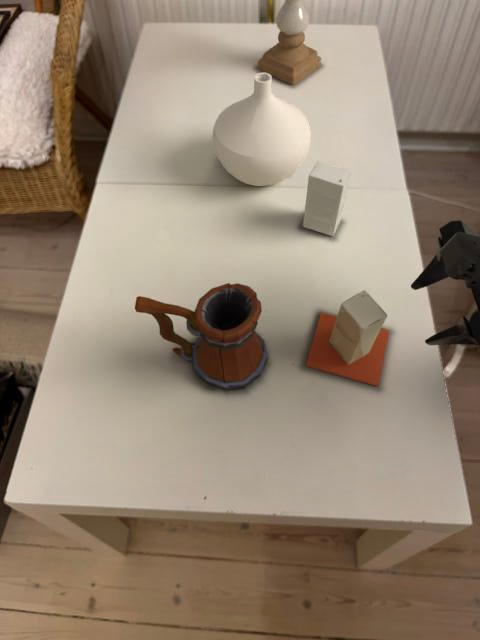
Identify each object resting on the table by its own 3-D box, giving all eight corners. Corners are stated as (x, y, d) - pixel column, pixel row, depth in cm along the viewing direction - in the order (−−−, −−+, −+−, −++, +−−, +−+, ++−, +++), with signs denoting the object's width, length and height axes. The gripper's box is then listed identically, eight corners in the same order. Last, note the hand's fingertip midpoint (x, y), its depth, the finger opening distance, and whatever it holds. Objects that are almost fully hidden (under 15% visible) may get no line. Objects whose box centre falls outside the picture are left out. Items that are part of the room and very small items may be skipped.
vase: (321, 186, 95) (337, 96, 78) (232, 211, 91) (229, 122, 75) (285, 130, 104) (291, 38, 88) (203, 151, 101) (194, 60, 84)
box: (327, 341, 76) (339, 301, 66) (349, 328, 77) (363, 287, 68) (349, 367, 73) (363, 329, 64) (371, 353, 75) (389, 314, 65)
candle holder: (321, 65, 116) (336, -53, 96) (293, 85, 112) (302, -33, 92) (285, 48, 120) (292, -68, 100) (256, 68, 116) (258, -50, 96)
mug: (144, 384, 73) (121, 334, 60) (159, 319, 79) (142, 261, 66) (263, 396, 72) (267, 347, 59) (270, 329, 78) (274, 272, 65)
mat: (388, 331, 77) (389, 330, 77) (377, 386, 72) (378, 385, 72) (320, 313, 79) (321, 312, 79) (305, 366, 74) (305, 364, 74)
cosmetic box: (340, 221, 90) (352, 169, 80) (333, 237, 88) (344, 186, 78) (309, 211, 91) (317, 159, 81) (301, 227, 89) (308, 175, 79)
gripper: (475, 168, 58) (371, 239, 68) (528, 294, 48) (396, 355, 58) (520, 211, 64) (418, 270, 74) (575, 331, 54) (448, 381, 64)
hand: (419, 314), depth 68 cm, fingers open, 9 cm apart
